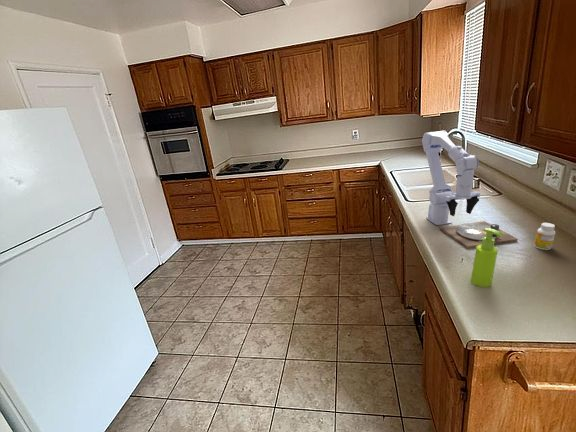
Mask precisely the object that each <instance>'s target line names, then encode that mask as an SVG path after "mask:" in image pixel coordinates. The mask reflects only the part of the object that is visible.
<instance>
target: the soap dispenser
mask: <svg viewBox="0 0 576 432" xmlns="http://www.w3.org/2000/svg"><path fill="white" fill-rule="evenodd" d="M484 231H486V232H487V233H486V237H483V238H482V244H481V245H478V246H477V247H476V248H475V253H474V259H473V264H472V265H473V266H472V272H471V277H470V278H471V279H470V281H471V284H474V285H475V286H477V287H480V288H481V287H482V288H489V287H491V285H492V281H493V276H494V272H495V266H496V261H497V255H498V252H499V250H498V247H495V245H494V242H495V239H494V238H492V236H493V234H495V235H497V236H499V237H501V236H503V235H505V234H503V233H501V232H500V231H497V230H494V229H491V228H486V229H484Z"/></svg>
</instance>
